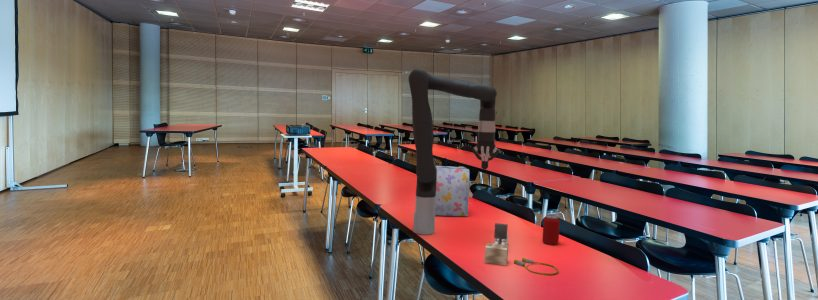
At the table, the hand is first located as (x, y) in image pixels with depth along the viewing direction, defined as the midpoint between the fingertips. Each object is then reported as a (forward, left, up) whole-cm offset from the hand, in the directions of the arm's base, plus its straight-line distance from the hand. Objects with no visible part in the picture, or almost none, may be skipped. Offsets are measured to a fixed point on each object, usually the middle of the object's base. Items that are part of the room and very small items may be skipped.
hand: (484, 169), depth 195 cm
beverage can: (+30, +2, -31) cm, 43 cm away
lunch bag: (-24, +36, -31) cm, 53 cm away
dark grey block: (+10, -23, -31) cm, 40 cm away
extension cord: (+25, -32, -32) cm, 51 cm away
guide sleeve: (+10, -14, -31) cm, 35 cm away
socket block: (+10, -31, -31) cm, 45 cm away
